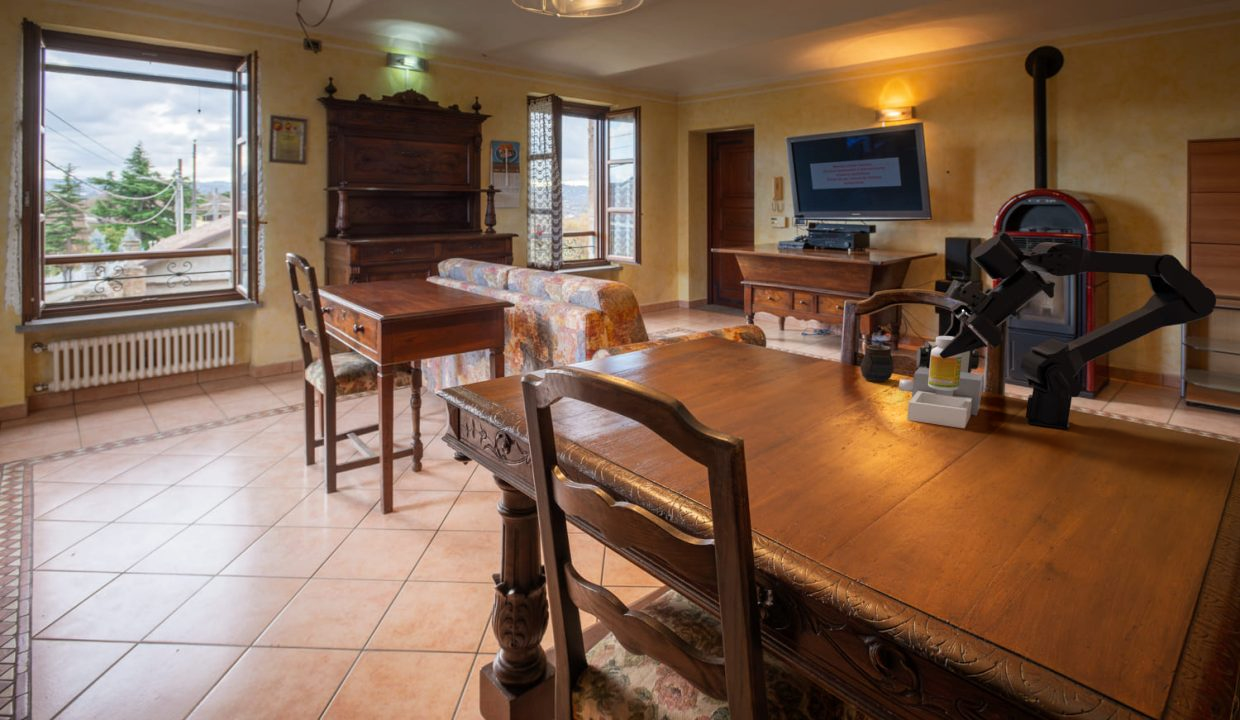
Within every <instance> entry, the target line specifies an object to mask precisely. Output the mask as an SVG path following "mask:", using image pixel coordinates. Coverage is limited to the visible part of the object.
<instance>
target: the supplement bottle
mask: <svg viewBox="0 0 1240 720" xmlns="http://www.w3.org/2000/svg"><path fill="white" fill-rule="evenodd" d="M953 338H954V337H952V336H944V335H939V336H936V337H935V342H936V345H937V347H935V348H933V349H932V350H931V357H930V369H929V379H928V386H929V387H931V388H933V389H937V390H947V391H948V390H957V389H958V388H959V380H960V370H961V360H962V353H961V354H957V355H954V356H951V357H947V358H942V357H941V356H940V353H941V352H942V350H943V349H944V348H945V347H946V346H947V345H948V344H949V343H950V342H951V341H952V340H953Z"/></svg>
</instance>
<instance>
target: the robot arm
mask: <svg viewBox="0 0 1240 720" xmlns="http://www.w3.org/2000/svg"><path fill="white" fill-rule="evenodd" d="M970 258H971V259H972V260H973V261H974V262H975V263H976V264H977V265H978V266H979V267H980V268H981V269H982V271H983V272H984V273H985V274H986V275H987V276H988V277H989V278H990V279H991V280H997V279H999V280H1002V281H1001V282H999V284H997V285H995V286H994V287H993V288H991V287H989V288H986V289H984V290H983V291H981V290H980V285H979V284H978V283H975V282H973V281H968V282H966V283H962V282H961V281H958V280H956V279H953V281H951V283H950V285H949V288H948V289H947V291H946V292H945V295H946V296H947V297H949V298H951V299H953V300H955V301H959V302H957V303H955V304H954V305H953V306H952V307H951V308H950V311H952V312H951V314H950V317H951V318H950V322H951V323H950V325H949V327H948V328H947V330H946V332H945V333H944V334H943V336H952V337H954V338H953V340H952V341H951V342H950V343H949V344H948V345H947V346H946V347H945V348H944V349H943V350H942V352H941V353H940V356H941V357H942V358H947V357H951V356H954V355H957V354H961V353H964V352H968V351H971V350H975V349H976V350H979V349H982V348H987V347H988V344H989V345H990V346H991V347H992V348H994V349H995V348H996V347H998V346H999V345H1000V344H1002V343H1003V342H1004V337H1005V334H1004V332H1003V331H1002V330H1001V329H1000V328H999V326H1000V325H1001V324H1003V323H1004V322H1005V321H1006V320H1007V319H1009V318H1010V317H1012V318H1015V317H1017V315H1019V312H1018V311H1019V310H1020V309H1022V308H1023V307H1024V306H1025V305H1026V304H1027V303H1029V302H1031V301H1032V300H1033V299H1034V298H1035V297H1037V295H1039V294H1040V293H1041V294H1042V295H1044V296H1045V297H1047V298H1050V299H1053V298H1054V297H1055V286H1056V283H1055V282H1053V281H1052V280H1045V278H1043V276H1042V275H1041V274H1043V275H1048V276H1055V277H1065V276H1074V275H1080V274H1085V273H1093V272H1094V273H1095V272H1096V273H1107V274H1109V273H1111V274H1113V273H1114V274H1126V275H1128V274H1129V275H1143V276H1145V277H1146V278H1147V281H1148V284H1149V288H1150V291H1152V293H1153V295H1151V296H1150V297H1149V299H1148V300H1147V301H1146V303H1145V304H1144V305H1143V306H1142V307H1140V308H1138V309H1136V310H1135V311H1132V312H1130V313H1127V314H1126V315H1124V316H1122V317H1119V318H1117V319H1115V320H1113V321H1111V322H1109V323H1107V324H1105V325H1102V326H1101V327H1099V328H1096V329H1094V330H1092V331H1090V332H1088V333H1085V334H1084V335H1082V336H1079V337H1078V338H1076V339H1073V340H1071V341H1070V342H1065V343H1064V342H1062V341H1058V340H1056V339H1053V338H1049V339H1047V340H1045V341H1044V342H1042V343H1041V344H1039V345H1037V346H1034V347H1032V346H1031V347H1029V350H1030V351H1028V352H1027V353H1025V354H1024V355H1023V357H1022V359H1021V363H1020V369H1021V373H1022V374H1023V376H1024V377H1026V379H1027V381H1026V382H1027V384H1028V386H1030V387H1032V393H1031V394H1029V395H1027V396H1028V398H1027V405H1026V412H1025V418H1026V419H1027V424H1030V425H1035V426H1043V427H1047V428H1055V429H1057V428H1058V429H1065V430H1068V429H1069V428H1070V422H1069V421H1070V412H1071V406H1072V399H1073V398H1078V397H1079V395H1080V394H1081V391H1082V389H1083V387H1084V386H1083V385H1082V384H1081V383H1080V381H1078V380H1077V379H1076V378H1075V377H1076V376H1077V374H1079V372H1080V371H1081V369H1083V367H1084V366H1085V365H1086V364H1087V363H1089V362H1091V361H1093V360H1095V359H1098V358H1099V357H1102V356H1104V355H1106V354H1108V353H1111V352H1113V351H1116V350H1117V349H1119V348H1121V347H1123V346H1125V345H1127V344H1130V343H1131V342H1134V341H1136V340H1138V339H1140V338H1142V337H1144V336H1146V335H1147V336H1148V335H1149V334H1151V333H1153V332H1155V331H1157V330H1159V329H1161V328H1166V327H1171V326H1176V325H1178V326H1179V325H1185V324H1189V323H1193V322H1196V321H1198V320H1199V321H1200V320H1202V319H1204V318H1205V319H1206V318H1207V317H1208V316H1210V315H1211V314H1212V313H1214V310H1215V309H1214V308H1215V307H1216V303H1217V297H1216V294H1215V292H1214V291H1213V289H1210V288H1209V287H1206V286H1205V285H1204V283H1203V282H1202V281H1201V279H1200V278H1198V277H1196V275H1194V274H1193V273H1191V272H1190V271H1189V270H1188V269H1187V268H1186V267H1184V265H1183V264H1182V263H1181V261H1180V260H1179V259H1178V257H1176V256H1174V255H1172V254H1170V253H1169V254H1168V253H1157V252H1153V253H1133V252H1119V251H1118V252H1116V251H1101V250H1100V251H1099V250H1098V251H1097V250H1092V249H1089V248H1085V247H1082V246H1077V245H1072V244H1069V243H1064V242H1049V241H1043V242H1040V243H1038V244H1036V246H1034V247H1033V248H1032V249H1027V250H1026V249H1025V250H1022V249H1020V247H1019V246H1017V244H1016V243H1015V242H1014V241H1013V240H1012V238H1011V236H1010V235H1009V234H1008V233H1007V232H1004V231H999V232H997V234H995V236H992V237H990V238H988V239H987V240H984V242H981V243H979V244H978V245H977V246H976V247H975V248H974V249H973V251H972V252H971V254H970ZM1024 265H1027V266H1030V268H1031V269H1032V270H1028V269H1027V268H1026V266H1024ZM960 301H961V302H960ZM986 343H988V344H986ZM935 347H937V345H936V346H935Z"/></svg>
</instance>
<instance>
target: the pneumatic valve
mask: <svg viewBox="0 0 1240 720" xmlns="http://www.w3.org/2000/svg"><path fill="white" fill-rule="evenodd" d="M935 346H936V341H924V345H922V346H918V348H917V352H916V366H917V368H919V367H920V368H929V369H930V357H931V350H932V349H933V348H935ZM979 364H980V352H979V349H975V350H971V351H968V352H964V353H962V360H961V370H960V372H966V373H972V372H973V370H974V371H975V370H977V369H978V367H979V366H980V365H979Z"/></svg>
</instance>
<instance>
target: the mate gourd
mask: <svg viewBox="0 0 1240 720" xmlns="http://www.w3.org/2000/svg"><path fill="white" fill-rule="evenodd" d="M882 344H883V341H879V343H878V344H870V345H869V344H868V345H867V346H865V352H864V357H863V358H862V360H861V364H860V372H861V375H862V377H863V378H864V379H865V380H866V381H868V382H873V383H884V382H887V381H889V380H890V378H891V377H892V374H894V373H893V372H894V368H895V367H894V362H893V361H894V360H893V357H892V348H891V347H890V346H886V345H882Z"/></svg>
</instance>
